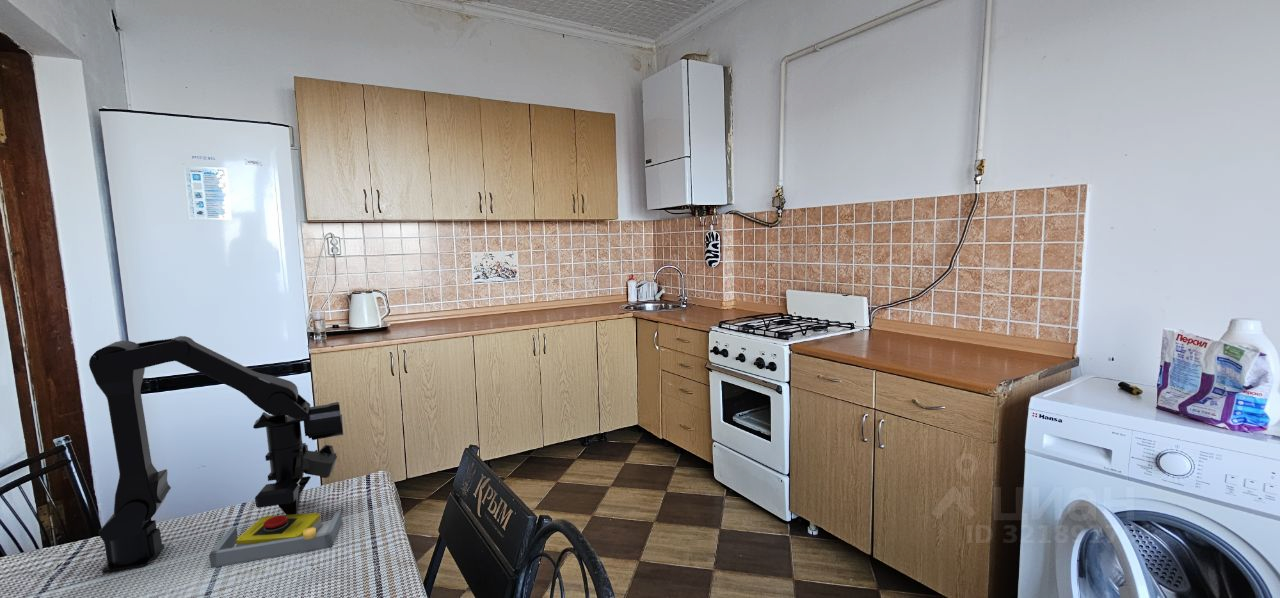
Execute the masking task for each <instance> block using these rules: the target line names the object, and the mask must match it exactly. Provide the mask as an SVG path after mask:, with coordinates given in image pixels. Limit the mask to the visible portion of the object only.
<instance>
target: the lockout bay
mask: <svg viewBox="0 0 1280 598" xmlns="http://www.w3.org/2000/svg"><path fill="white" fill-rule="evenodd" d="M329 524H330V525H329V527H328V529H327V531H326V533H320V534H316V528H314V527H312V528H307V529H305V530H304V531H303V536H302V537H296V538H290V539H283V540H277V541H271V542H265V543H259V544H253V545H247V546H241V547H236V546H234V545H236V539H237V538H238V537H239V535H238V530H237V528H238V527H231V528H229V529H228V530H227V532H226V533H225V534H224V536H223V537H222V538H221V539H220V540H219V542H218V543H217V544H216V545H215V547H214V548H213V549H212V550H211V551H210V553H209V554H208V556H209V563H210V568H216V567H221V566H222V567H223V566H229V565H233V564H234V565H235V564H240V563H246V562H252V561H257V560H263V559H269V558H275V557H280V556H281V557H282V556H286V555H293V554H299V553H304V552H311V551H316V550H323V549H327V548H329V549H330V548H332V547H333V545H334V543H335V540H336V538H337V536H338V534H339V531H340V529H341V527H342V526H343V517H342V511H340V510H339V511H335V513H334V515H333V516H332V519H331V521H330V523H329Z"/></svg>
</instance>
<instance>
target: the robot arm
mask: <svg viewBox="0 0 1280 598" xmlns="http://www.w3.org/2000/svg"><path fill="white" fill-rule="evenodd" d="M171 362H177V363H179V364H182V365H184V366H186V367H187V368H190V369H192V370H194V371H196V372H198V373H200V374H203V375H205V376H207V377H208V378H211V379H213V380H215V381H217V382H220V383H222V384H224V385H226V386H228V387H230V388H232V389H234V390H237V391H238V392H240V393H241V394H243V395H244V396H245V397H246V398H248V400H250V402H252V403H253V404H254V405H256V407H258V408H260V410H263V412H262V413H261V415H260V417H258V419H256V420H255V422H254V424H253V426H252V427H253V429H255V430H257V429H261V428H262V429H263V428H265V429H266V439H267V448H268V452H267V453H266V455H265V461H267V462H268V461H269V467H270V468H269V469H270V472H269V474H268V475H267V481H268V482H269V481H270V482H271V481H272V482H273V481H275V482H274V483H266V484H265V485H264V486H263V487H262V489H260V491H259V492H258V493H257V494H256V495H255V497H254V501H255V508H257V509H259V508H260V509H261V508H268V507H274V506H275V507H276V506H278V507H279V508H280V509H281V511H282V512H283V513H284V515H291V514H299V513H298V512H299V507H300V502H301V501H300V500H301V496H302V493H303V491H304V489H305V488H306V486H307V485H308V483H309V481H310V480H311V476H317V477H320V478H321V479H322V478H323V479H326V478H329V477H330V476H331V474H332V472H333V471H334V467H335V464H336V461H337V460H338V455H337V453H335V452H334V451H335V450H334V446H333V445H330V444H324V445H323V446H322V447H321V448H320V449H319V450H317V449H315V450H309V448H308V447H309V445H308V444H307V443H306V442H303V436H302V426H301V422H303V429H304V437H308V439H311V440H312V441H315V440H322V439H327V438H333V437H340V436H344V425H343V424H344V423H343V414H342V412H341V405H340V402H339V401H337V402H332V403H328V404H322V405H321V404H320V405H315V406H311V404H310V403H309V401H307V400H306V399H305V398H304V397H303V396H302V395H300V394H299V390H298V389H299V388H298V386H297V385H296V384H295V383H294V382H292V381H291V380H288V379H286V378H281V377H278V376H275V375H271V374H265V373H260V372H258V371H255V370H253V369H250V368H249V367H247V366H244V365H242V364H240V363H238V362H237V361H235V360H232V359H231V358H228V357H226V356H224V355H222V354H220V353H219V352H216V351H214V350H212V349H210V348H207V347H206V346H204V345H203V344H200V343H198V342H196V341H195V340H193V338H191V337H189V336H185V335H178V336H176V337H174V338H165V339H158V340H157V339H155V340H149V341H144V342H139V343H137V342H135V341H131V340H118V341H115V342H112V343H110V344H108V345H106V346H104V347H102V348H99V349H98V350H95V352H94V353H93V354H92V355H91V356H90V358H89V361H88V367H89V369H90V371H91V374H92V377H93V379H94V382H95V384H96V385H97V386H98V388H99V389H100V390H101V391H102V393H103V394H104V396H105V398H106V400H107V405H108V412H109V418H110V423H111V429H112V435H113V442H114V448H115V454H116V461H117V465H118V466H117V467H118V472H119V477H118V482H117V486H116V490H115V494H114V505H113V514H112V515H111V516H110V517H109V519H108V520H107V521H106V522H105V523H104V525H103V526H102V527H101V529H99V530H98V533H97V534H98V536H99V537H100V538H101V540H102V541H103V543H104V548H105V549H104V550H105V554H106V555H105V556H106V563H107V564H106V565H105V566H104V567H103V568H102V569H101V572H102V573H104V574H105V573H110V572H116V571H123V570H127V569H134V568H139V567H144V566H147V565H149V564H150V563H151V562H152V560H153V559H155V557H157V555H158V554H160V552H161V551H162V550H163V549H164V548H165V544H163V541H162V536H161V529H160V528H159V527H158V528H157V522H156V519H155V520H154V519H153V520H151V519H152V517H154V516H155V514H156V513H157V511H158V510H159V508H161V506H162V504H163V503H164V501H165V499H166V497H167V496H168V495H167V494H168V493H169V491H170V490H171V489H172V487H171V486H170V485H169V483H168V469H162V470H160V471H158V470H157V468H156V467H155V466H154V464H153V462H152V457H151V450H150V443H149V438H148V429H147V424H146V418H145V412H144V405H143V399H142V392H141V389H142V384H143V381H144V376H145V369H146V368H149V367H155V366H158V365H163V364H165V363H171ZM305 475H311V476H305Z"/></svg>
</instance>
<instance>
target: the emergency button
mask: <svg viewBox="0 0 1280 598" xmlns="http://www.w3.org/2000/svg"><path fill="white" fill-rule="evenodd" d="M321 516H322V515H321V513H320V512H310V513H297V514H291V515H286V514H279V515H266V516H265V515H264V516H262V517H261V518H259V519H258V520H257V521H255V522H254V524H252V525H251V526H250V527H249V528H248V529H246V530H245V531H244V532H243V533H242V534H241V535H238V538H237V539H236V543H235V547H241V546H247V545H253V544H259V543H265V542H271V541H277V540H283V539H290V538H296V537H302V536H303V531H304V530H305V529H307V528H312V527H314V528H316V534H320V533H326V531H327V529H328V527H329V525H330V523H323V521H322V517H321Z"/></svg>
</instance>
